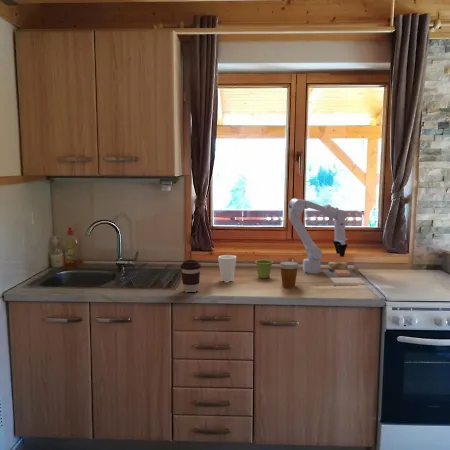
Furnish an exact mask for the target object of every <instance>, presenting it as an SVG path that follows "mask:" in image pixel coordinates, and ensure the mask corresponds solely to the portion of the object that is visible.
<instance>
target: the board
mask: <svg viewBox="0 0 450 450" xmlns="http://www.w3.org/2000/svg"><path fill="white" fill-rule="evenodd" d="M322 271H323V272H324V273H325V275H327V276H328V278H329V279H330V280H331V281H332V283H334V284H333V286H334V287H335V286H347V287H348V286H349V287H350V286H357V283H359V284H365V283H366V281H365V280H363V278H361V277H360V276H359V275H358V274H356V273H355V272H354V271H353V270H352V269H349V268H348V271H349V272H350V276H336V275H335V274H334V271H329V270H328V269H322ZM351 283H353V284H351Z"/></svg>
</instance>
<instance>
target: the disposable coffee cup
mask: <svg viewBox="0 0 450 450" xmlns="http://www.w3.org/2000/svg"><path fill="white" fill-rule="evenodd" d="M279 267H280V276H281V285H282V287H283V286H284V288H287V287H288V288H291V289H292V288H295V287H296V280H297V274H298V268H299V263H298V262H297V261H293V260H292V261H291V260H284V261H280V264H279Z"/></svg>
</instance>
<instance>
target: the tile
mask: <svg viewBox="0 0 450 450" xmlns="http://www.w3.org/2000/svg"><path fill="white" fill-rule="evenodd" d="M334 274H335V275H336V276H350V272H349V271H348V270H334Z"/></svg>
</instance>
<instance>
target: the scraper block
mask: <svg viewBox="0 0 450 450" xmlns="http://www.w3.org/2000/svg"><path fill="white" fill-rule="evenodd" d="M348 266H349V265H348V262H346V261H328V262H327V270H329V271H334V270H348V269H349V267H348Z"/></svg>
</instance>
